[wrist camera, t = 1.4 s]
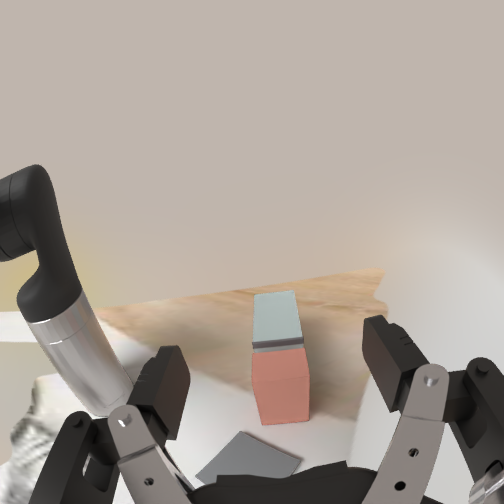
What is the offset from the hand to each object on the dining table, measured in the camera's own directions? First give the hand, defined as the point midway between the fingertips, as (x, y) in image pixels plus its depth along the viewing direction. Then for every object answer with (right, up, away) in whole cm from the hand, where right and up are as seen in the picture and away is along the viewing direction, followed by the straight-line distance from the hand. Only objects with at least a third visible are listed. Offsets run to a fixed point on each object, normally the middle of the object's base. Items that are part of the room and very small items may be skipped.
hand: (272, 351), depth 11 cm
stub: (+3, -15, +18) cm, 24 cm away
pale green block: (+3, -12, +26) cm, 28 cm away
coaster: (-1, -19, +10) cm, 22 cm away
